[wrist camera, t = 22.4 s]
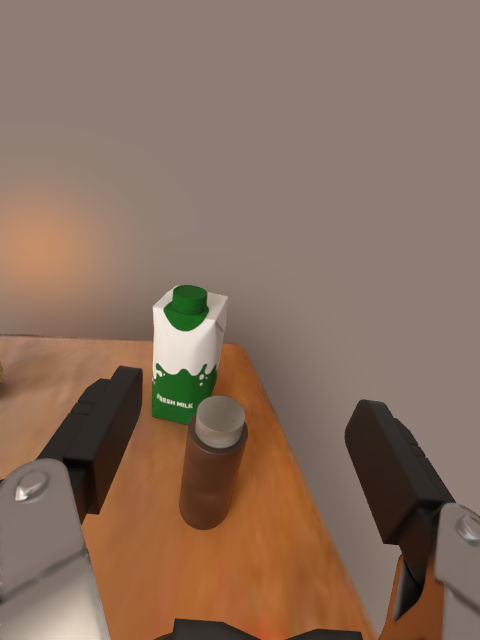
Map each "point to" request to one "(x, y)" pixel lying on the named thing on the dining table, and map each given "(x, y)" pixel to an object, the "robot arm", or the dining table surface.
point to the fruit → (1, 372)
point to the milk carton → (186, 350)
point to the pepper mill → (212, 461)
